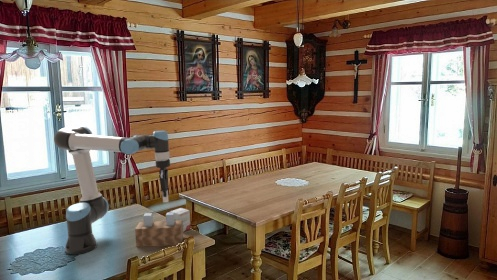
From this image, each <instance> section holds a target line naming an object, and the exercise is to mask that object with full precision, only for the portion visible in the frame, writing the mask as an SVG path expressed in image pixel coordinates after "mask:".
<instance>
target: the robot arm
mask: <svg viewBox="0 0 497 280" xmlns="http://www.w3.org/2000/svg"><path fill="white" fill-rule="evenodd" d="M169 140H170V138H169V133H168V131H167V130H154V131H153V134H136V135H133V136H132V137H120V136H110V135H109V136H108V135H99V134H97V135H96V134H93V132H92V131H91V130H90V128H88V127H87V126H84V125H75V126H69V127H63V128H61V129H59V130H58V131H56V133H54V138H53V141H54V144H55V146H56V147H57V148H58V149H60V150H64V151H68V153H69V154H70V155H72V159H73V163H74V167H75V171H76V176H77V179H78V184H79V187H80V192H81V197H80V200H79V202H77V203H75V204H72V205H70V206H68V207H67V208H66V212H65V219H66V228H67V230H66V231H67V239H66V242H65V243H66V244H65V248H64V249H65V253H66V254H68V255H80V254H86V253H88V252H91V251H93V250H95V249H96V248H97V246H98V243H97V240H96V237H95V235H94V233H93V227H92V225H93V224H94V223H95V222H97V221H98V220H101V219H102V218H103V217H104V216H105V215H106V214H107V213H108V211H109V208H110V207H109V201H108V200H107V199H106V198H105V197H103V194H102V193H100V192H99V188H98V183H97V181H96V176H95V173H94V166H93V163H92V158H91V154H90V152H91V150H92V151H102V152H103V151H104V152H115V153H116V152H117V153H123V154H125V155H134V154H136V153H137V152H141V151H144V150H154V159H155V168H159V173H158V174H159V175H158V177H159V183H160V192H162V203H169V190H170V187H169V170H168V168H169V167H170V166H171V159H170V155H171V152H170V146H169V145H170V143H169Z"/></svg>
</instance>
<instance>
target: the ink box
mask: <svg viewBox="0 0 497 280" xmlns="http://www.w3.org/2000/svg"><path fill="white" fill-rule="evenodd" d="M169 212H174V217H175V221H179V220H183V232H185V231H187V230H188V231H189V230H190V229H191V216H190V215H191V214H190V209H187V208H183V207H179V208H176V209H174V210H170V211H169Z"/></svg>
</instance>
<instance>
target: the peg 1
mask: <svg viewBox="0 0 497 280" xmlns="http://www.w3.org/2000/svg"><path fill="white" fill-rule="evenodd" d="M143 214H144V215H143V222H144V227H152V226H153V221H154V219H153V213H152V212H148V213H147V212H145V213H143Z"/></svg>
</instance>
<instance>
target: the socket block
mask: <svg viewBox="0 0 497 280" xmlns="http://www.w3.org/2000/svg"><path fill="white" fill-rule="evenodd" d="M134 231H135V232H134V233H135V246H136V247H137V248H138V247H158V246H159V247H161V246H160V245H164V246H177V245H176V244H178V243H181V242H183V240H184V231H183V220H179V221H175V226H166V220H158V221H157V220H156V221H154V220H153V226H152V227H144V221H139V222H138V224H137V225H136V226H135V229H134Z"/></svg>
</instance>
